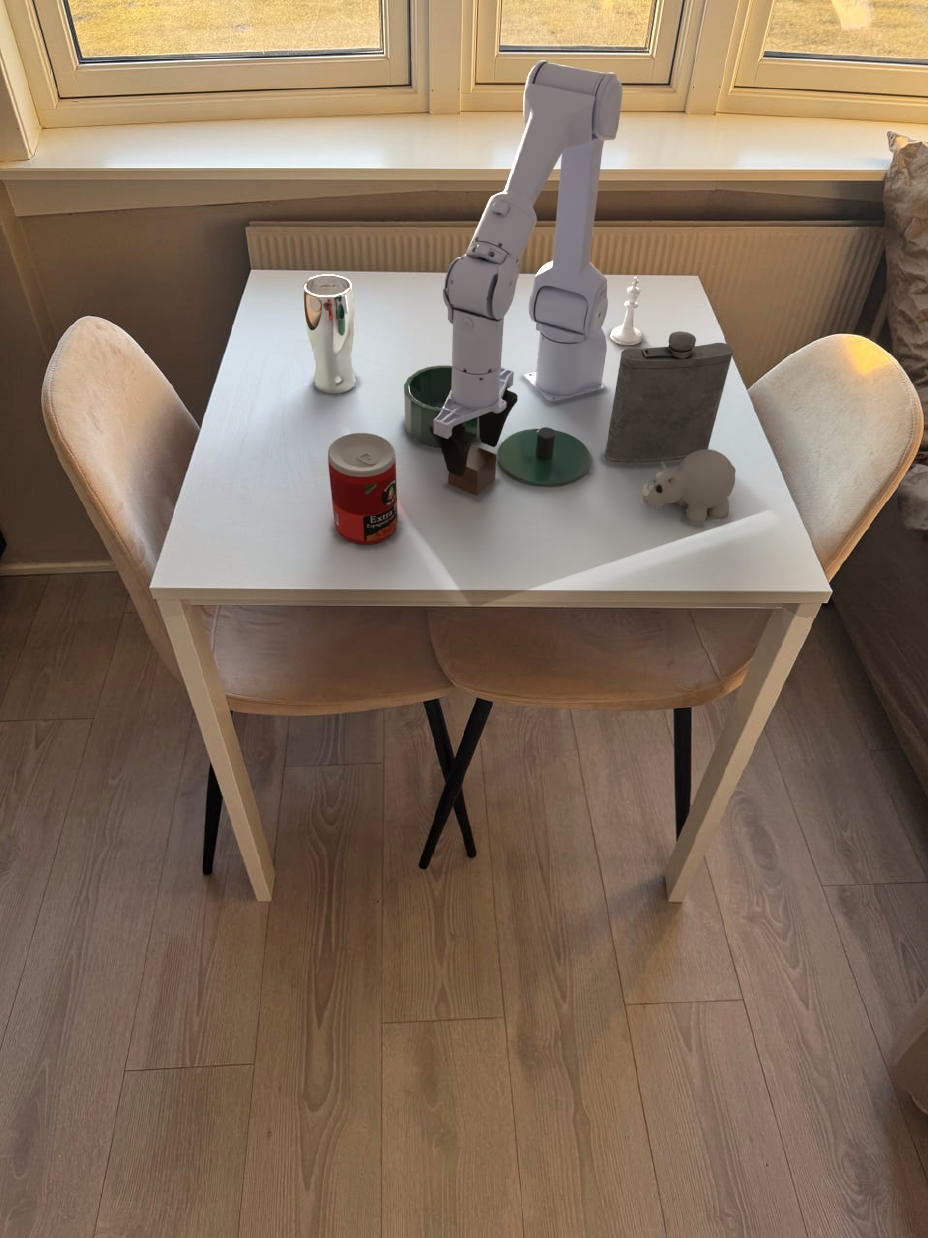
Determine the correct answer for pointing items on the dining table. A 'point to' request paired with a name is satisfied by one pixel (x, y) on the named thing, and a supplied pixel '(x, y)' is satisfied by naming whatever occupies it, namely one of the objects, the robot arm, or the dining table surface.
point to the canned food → (363, 487)
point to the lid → (543, 457)
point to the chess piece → (628, 320)
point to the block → (476, 471)
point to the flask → (666, 400)
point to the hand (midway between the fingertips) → (472, 458)
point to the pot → (429, 403)
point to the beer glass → (330, 331)
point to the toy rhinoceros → (694, 485)
